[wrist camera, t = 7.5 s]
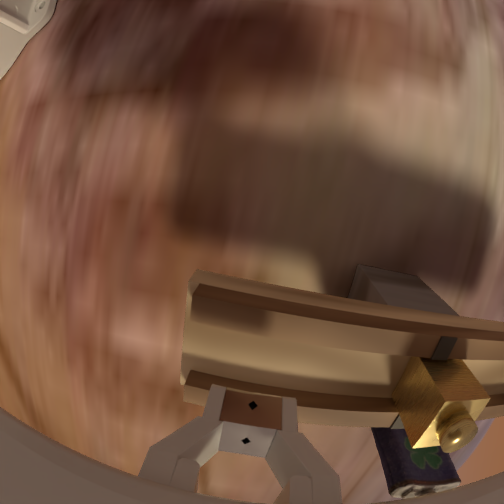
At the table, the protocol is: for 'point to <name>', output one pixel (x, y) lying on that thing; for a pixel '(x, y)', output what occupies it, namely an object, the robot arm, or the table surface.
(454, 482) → the flask
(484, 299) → the table surface
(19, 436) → the robot arm
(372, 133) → the table surface
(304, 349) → the beam
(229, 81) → the table surface
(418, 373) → the rider
